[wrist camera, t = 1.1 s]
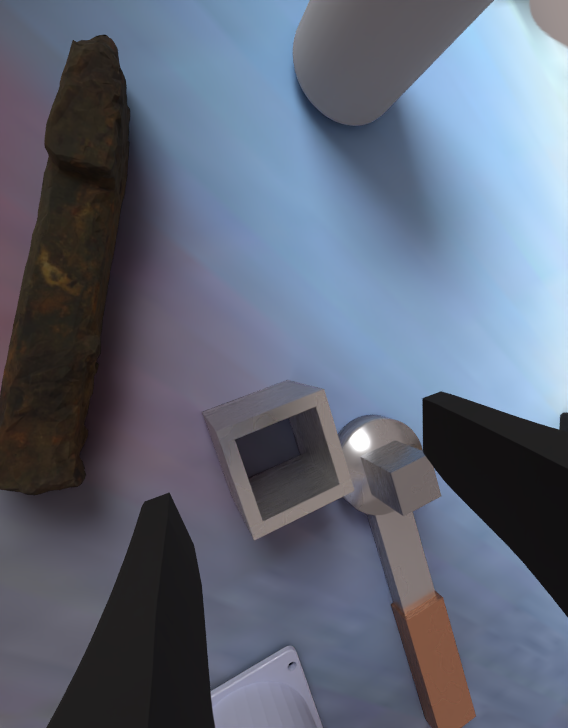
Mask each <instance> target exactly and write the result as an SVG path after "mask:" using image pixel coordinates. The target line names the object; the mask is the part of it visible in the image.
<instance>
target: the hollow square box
mask: <svg viewBox="0 0 568 728" xmlns="http://www.w3.org/2000/svg"><path fill="white" fill-rule="evenodd" d="M202 414H203V416H204V419H205V422H206V425H207V428H208V431H209V433H210V436H211V439H212V442H213V445H214V448H215V450H216V453H217V456H218V459H219V462H220V465H221V468H222V470H223V473H224V476H225V479H226V482H227V485H228V487H229V490H230V493H231V496H232V498H233V500H234V502H235V504H236V506H237V508H238V510H239V512H240V514H241V516H242V518H243V520H244V522H245V524H246V525H247V527H248V529H249V531H250V533H251V535H252V537H253V539H254V540H256V539H258V538H260V537H262V536H264V535H266V534H268V533H270V532H272V531H274V530H276V529H278V528H280V527H282V526H284V525H287V524H289V523H291V522H293V521H295V520H297V519H299V518H301V517H303V516H305V515H307V514H309V513H311V512H313V511H315V510H317V509H319V508H321V507H323V506H325V505H327V504H329V503H331V502H333V501H335V500H337V499H339V498H341V497H343V496H345V495H347V494H349V493H351V492H353V491H355V490H354V487H353V484H352V480H351V477H350V474H349V470H348V467H347V464H346V460H345V457H344V454H343V451H342V447H341V444H340V441H339V437H338V434H337V431H336V427H335V424H334V421H333V417H332V414H331V411H330V407H329V404H328V401H327V398H326V394H325V391H324V389H322V388H318V387H314V386H310V385H306V384H302V383H298V382H294V381H290V380H285V381H283V382H280V383H277V384H275V385H272V386H269V387H267V388H264V389H262V390H259V391H256V392H254V393H251V394H248V395H246V396H243V397H240V398H238V399H235V400H232V401H230V402H227V403H224V404H222V405H219V406H216V407H214V408H211V409H208V410H206V411H203V412H202ZM286 418H289V421H290V424H291V427H292V430H293V434H294V437H295V440H296V443H297V446H298V449H299V452H300V455H299V456H297V457H295V458H293V459H290V460H288V461H286V462H284V463H281V464H279V465H277V466H275V467H272V468H270V469H268V470H266V471H263V472H261V473H259V474H257V475H254V476H252V477H250V478H248V477H247V474H246V471H245V468H244V465H243V462H242V459H241V456H240V453H239V451H238V448H237V445H236V442H235V439H237V438H240V437H242V436H245V435H247V434H249V433H252V432H254V431H257V430H259V429H262V428H264V427H267V426H269V425H272V424H274V423H276V422H279V421H281V420H284V419H286Z"/></svg>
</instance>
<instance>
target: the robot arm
mask: <svg viewBox="0 0 568 728" xmlns="http://www.w3.org/2000/svg"><path fill="white" fill-rule="evenodd" d="M423 453H424V455H425V456H426V457H427V459H428V460H429V462H430V463H431V464H432V466H433V467H434V468H435V470H436V471H437V472H438V473H439V475H440V476H441V477H442V478H443V480H444V481H445V482H446V483H447V484H448V485H449V486H450V488H451V489H452V490H453V491H454V492H455V493H456V494H457V495H458V496H459V497H460V498H461V499H462V500H463V501H464V502H465V503H466V504H467V505H468V506H469V507H470V508H471V509H472V510H473V511H474V512H475V513H476V514H477V515H478V516H479V517H480V518H481V519H482V520H483V521H484V522H485V523H486V524H487V525H488V526H489V527H490V528H491V529H492V530H493V531H494V532H495V533H496V534H497V535H498V536H499V537H500V538H501V539H502V540H503V541H504V542H505V543H506V544H507V545H508V546H509V548H510V549H511V550H512V551H513V552H514V553H515V554H516V555H517V556H518V557H519V558H520V559H521V561H522V562H523V563H524V564H525V565H526V566H527V568H528V569H529V570H530V571H531V572H532V574H533V575H534V576H535V577H536V579H537V580H538V581H539V582H540V583H541V585H542V586H543V587H544V588H545V589H546V591H547V592H548V593H549V594H550V595H551V597H552V598H553V599H554V600H555V602H556V603H557V604H558V606H559V607H560V608H561V609H562V611H563V612H564V613H565V614H566V616H567V617H568V432H565V431H561V430H558V429H555V428H551V427H548V426H545V425H541V424H538V423H535V422H532V421H529V420H526V419H522V418H519V417H516V416H513V415H510V414H507V413H505V412H502V411H499V410H496V409H493V408H490V407H487V406H484V405H481V404H478V403H476V402H473V401H470V400H467V399H464V398H461V397H458V396H455V395H452V394H448V393H445V392H438V393H436V394H433V395H430V396H428V397H425V398H423ZM291 662H293V664H292V665H289V664H290V663H291ZM46 728H323V726H322V723H321V720H320V718H319V715H318V712H317V709H316V706H315V703H314V700H313V697H312V695H311V692H310V689H309V686H308V683H307V680H306V677H305V675H304V672H303V669H302V666H301V663H300V660H299V657H298V654H297V652H296V650H295V648H294V647H293V646H286V647H284V648H283V649H281V650H279V651H277V652H276V653H274V654H272V655H271V656H269V657H267V658H266V659H264V660H262V661H261V662H259V663H257V664H256V665H254V666H252V667H251V668H249V669H247V670H246V671H244V672H242V673H241V674H239V675H237V676H236V677H234V678H232V679H231V680H229V681H227V682H226V683H224V684H222V685H220V686H219V687H217V688H215V689H214V690H212V691H210V681H209V668H208V655H207V643H206V630H205V618H204V606H203V594H202V584H201V579H200V573H199V568H198V563H197V558H196V553H195V548H194V544H193V542H192V540H191V538H190V536H189V533H188V531H187V529H186V527H185V525H184V523H183V521H182V518H181V516H180V514H179V512H178V510H177V508H176V506H175V503H174V501H173V499H172V497H171V495H170V493H167V494H164V495H161V496H159V497H156V498H153V499H151V500H148V501H145V502H144V504H143V505H142V507H141V511H140V514H139V517H138V520H137V524H136V527H135V530H134V533H133V536H132V539H131V542H130V544H129V547H128V550H127V553H126V556H125V559H124V561H123V564H122V566H121V569H120V572H119V574H118V577H117V580H116V582H115V585H114V587H113V590H112V592H111V595H110V597H109V600H108V602H107V604H106V607H105V609H104V611H103V614H102V616H101V618H100V620H99V623H98V625H97V627H96V630H95V632H94V634H93V637H92V639H91V641H90V643H89V645H88V647H87V650H86V652H85V654H84V656H83V658H82V660H81V662H80V664H79V666H78V668H77V670H76V672H75V674H74V676H73V678H72V680H71V682H70V684H69V686H68V688H67V690H66V692H65V694H64V696H63V698H62V700H61V702H60V704H59V706H58V707H57V709H56V711H55V713H54V715H53V717H52V718H51V720H50V722H49V724H48V726H47V727H46Z"/></svg>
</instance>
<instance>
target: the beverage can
mask: <svg viewBox="0 0 568 728" xmlns="http://www.w3.org/2000/svg"><path fill="white" fill-rule="evenodd" d="M493 1H494V0H310V1H309V3H308V5H307V8H306V10H305V12H304V14H303V17H302V19H301V21H300V23H299V26H298V28H297V31H296V34H295V37H294V43H293V63H294V68H295V72H296V76H297V79H298V81H299V84H300V86H301V88H302V90H303V92H304V93H305V95H306V96H307V98H308V99H309V101H310V102H311V103H312V104H313V105H314V106H315V107H316V108H317V109H318V110H319V111H320V112H321V113H322V114H324V115H325V116H326V117H328V118H330V119H331V120H333V121H335V122H338V123H341V124H344V125H350V126H361V125H365V124H368V123H371V122H373V121H375V120H377V119H378V118H379V117H381V116H382V115H383V114H384V113H385V112H386V111H387V110H388V109H389V108H390V107H391V106H392V105H393V104H394V103H395V102H396V101H397V100H398V99H399V97H400V96H401V95H402V94H403V93H404V92H405V91H406V90H407V89H408V88H409V87H410V86H411V85H412V84H413V83H414V82H415V81H416V80H417V79H418V78H419V77H420V76H421V75H422V74H423V73H424V72H425V71H426V70H427V69H428V68H429V67H430V66H431V65H432V64H433V62H434V61H435V60H436V59H437V58H438V57H439V56H440V55H441V54H442V53H443V52H444V51H445V50H446V49H447V48H448V47H449V46H450V45H451V44H452V43H453V42H454V41H455V40H456V39H457V38H458V37H459V36H460V35H461V34H462V33H463V32H464V31H465V30H466V29H467V27H468V26H469V25H470V24H471V23H472V22H473V21H474V20H475V19H476V18H477V17H478V16H479V15H480V14H481V13H482V12H483V11H484V10H485V9H486V8H487V7H488V6H489V5H490V4H491V3H492V2H493Z"/></svg>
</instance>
